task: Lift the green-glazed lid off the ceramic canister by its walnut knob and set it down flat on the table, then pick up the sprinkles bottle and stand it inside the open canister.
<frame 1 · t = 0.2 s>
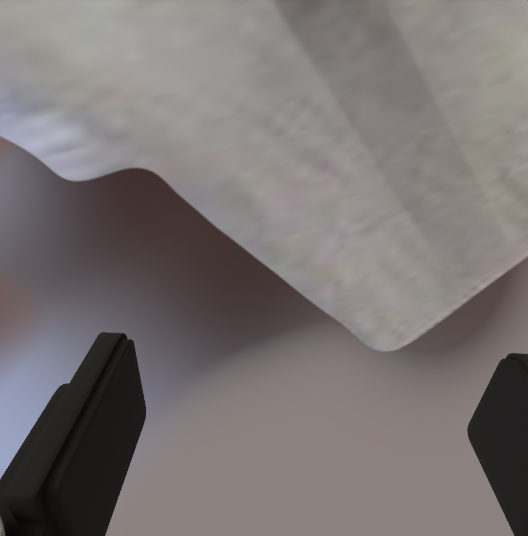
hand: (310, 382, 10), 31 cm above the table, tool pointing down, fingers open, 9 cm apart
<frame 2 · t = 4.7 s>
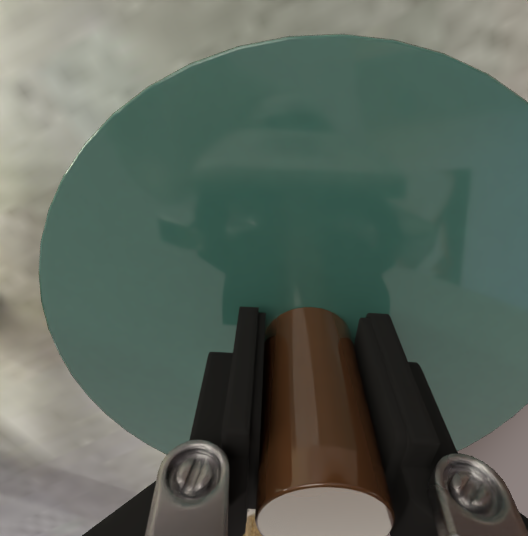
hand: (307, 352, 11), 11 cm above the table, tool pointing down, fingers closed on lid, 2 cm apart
lid: (305, 327, 12), point 10 cm above the table, touching canister, gripper
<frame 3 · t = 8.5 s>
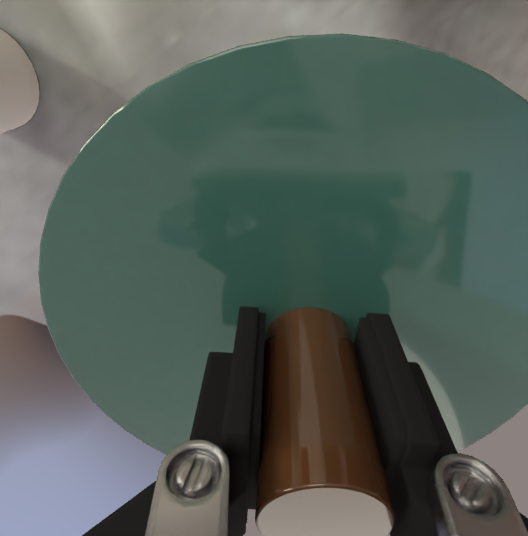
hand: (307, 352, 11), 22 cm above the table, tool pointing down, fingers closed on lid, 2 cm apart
lid: (306, 327, 12), point 21 cm above the table, touching gripper
when the fingers open (2 cm above the table, at t = 12.3 s): lid stays where it is, point 1 cm above the table.
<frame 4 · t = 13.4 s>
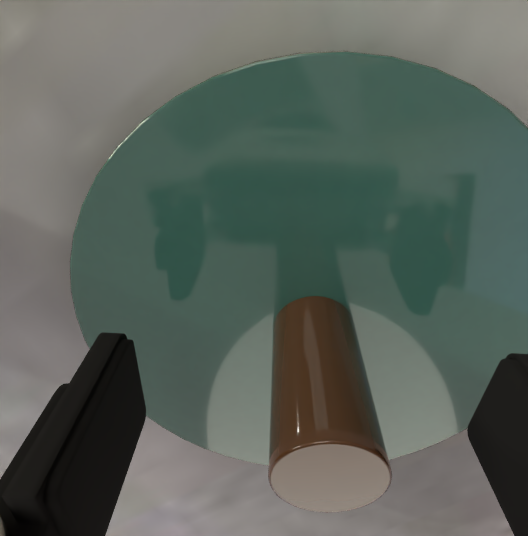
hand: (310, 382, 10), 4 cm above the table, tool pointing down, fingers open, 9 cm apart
lid: (311, 316, 13), point 1 cm above the table
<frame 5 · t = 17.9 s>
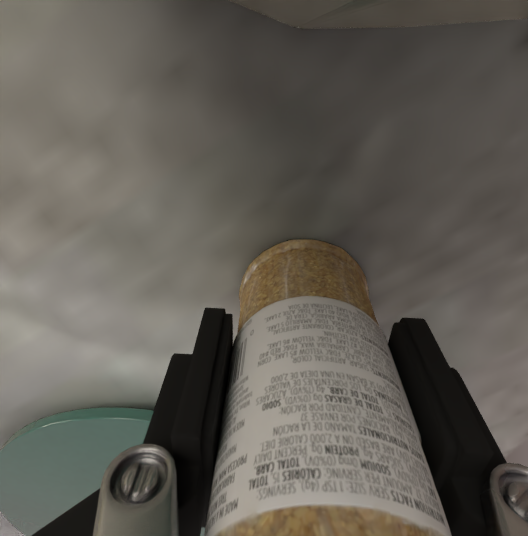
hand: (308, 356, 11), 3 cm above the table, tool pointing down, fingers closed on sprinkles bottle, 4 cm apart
lid: (147, 503, 20), point 1 cm above the table
sprinkles bottle: (302, 286, 14), on the table, touching gripper
when the fingers open (4 cm above the table, at t = 26.9 s): sprinkles bottle stays where it is, resting on canister.
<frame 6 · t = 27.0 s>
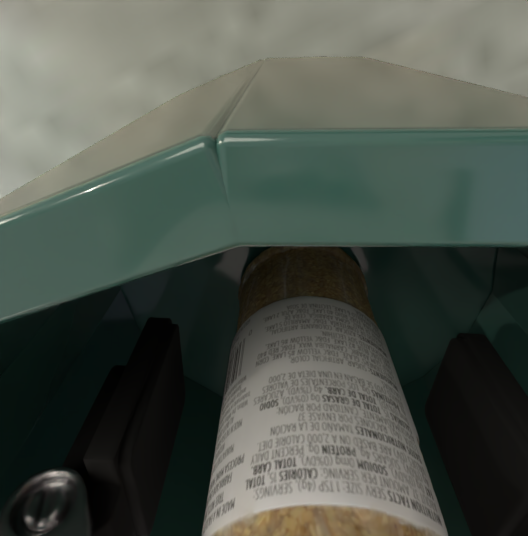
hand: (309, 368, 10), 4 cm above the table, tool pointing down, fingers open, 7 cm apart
sprinkles bottle: (301, 286, 14), resting on canister
canister: (302, 281, 14), on the table
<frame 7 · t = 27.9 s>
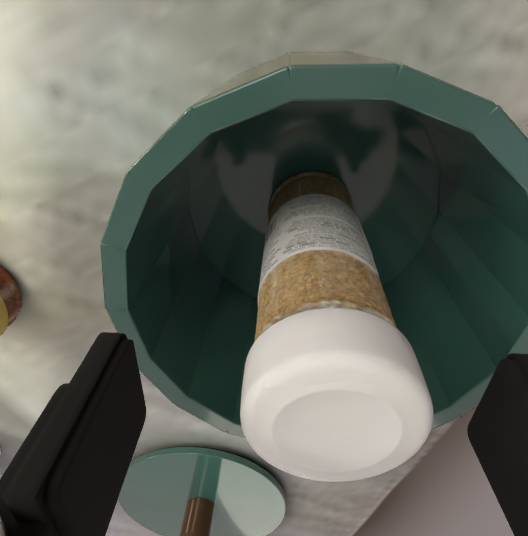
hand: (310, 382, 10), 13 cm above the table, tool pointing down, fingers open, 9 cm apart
lid: (202, 498, 36), point 1 cm above the table
sprinkles bottle: (309, 208, 20), resting on canister
canister: (310, 206, 21), on the table
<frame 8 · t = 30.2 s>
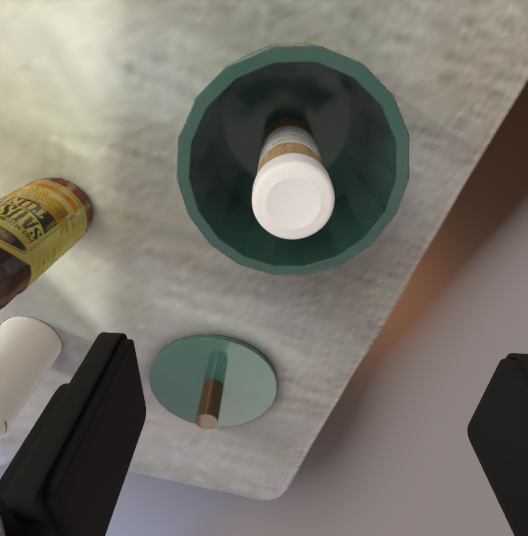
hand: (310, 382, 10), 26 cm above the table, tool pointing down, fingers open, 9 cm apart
lid: (213, 382, 47), point 1 cm above the table
sprinkles bottle: (287, 143, 32), resting on canister
canister: (288, 142, 32), on the table
cylindrical container: (31, 339, 45), on the table
sauce bottle: (62, 204, 36), on the table
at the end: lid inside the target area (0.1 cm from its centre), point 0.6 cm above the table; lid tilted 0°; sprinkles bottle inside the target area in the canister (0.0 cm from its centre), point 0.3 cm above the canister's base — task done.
